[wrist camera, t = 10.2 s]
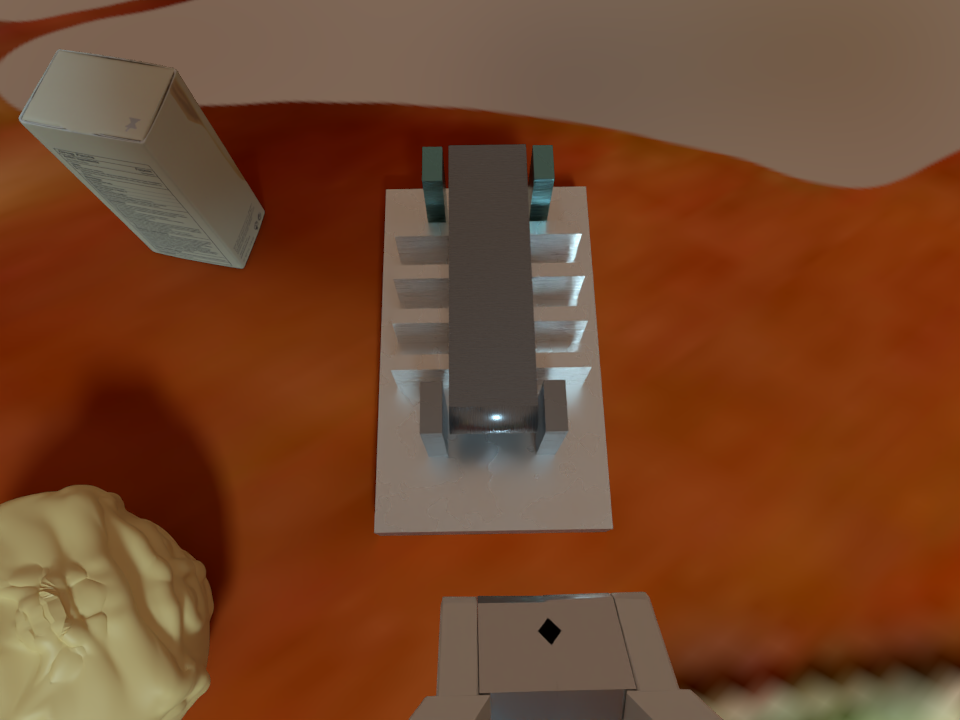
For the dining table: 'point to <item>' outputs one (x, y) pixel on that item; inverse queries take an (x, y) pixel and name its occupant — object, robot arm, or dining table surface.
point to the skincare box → (146, 155)
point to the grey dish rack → (425, 378)
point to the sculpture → (97, 612)
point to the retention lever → (490, 293)
